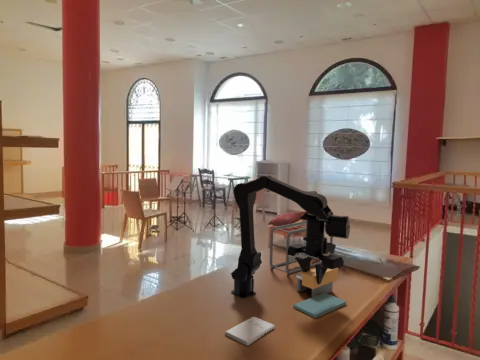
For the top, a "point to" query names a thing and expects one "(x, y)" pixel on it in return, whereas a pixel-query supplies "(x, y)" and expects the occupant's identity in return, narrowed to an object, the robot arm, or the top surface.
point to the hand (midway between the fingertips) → (313, 281)
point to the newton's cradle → (288, 257)
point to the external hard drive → (249, 330)
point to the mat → (319, 304)
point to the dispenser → (316, 291)
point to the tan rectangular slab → (311, 280)
